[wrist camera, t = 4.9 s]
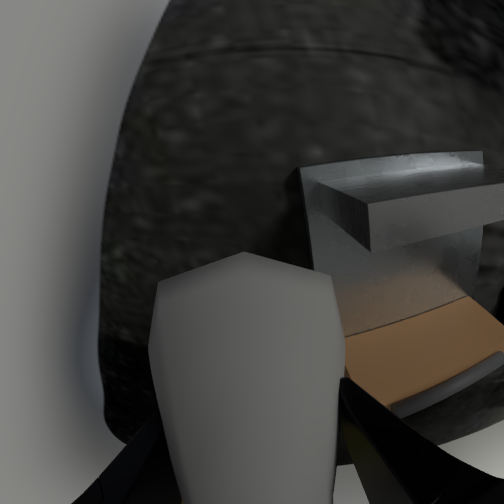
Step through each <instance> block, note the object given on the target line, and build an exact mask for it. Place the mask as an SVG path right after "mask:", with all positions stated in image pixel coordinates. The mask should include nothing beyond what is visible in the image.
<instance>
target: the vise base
mask: <svg viewBox="0 0 504 504" xmlns="http://www.w3.org/2000/svg"><path fill="white" fill-rule="evenodd" d="M296 168H297V174H298V180H299V186H300V192H301V198H302V204H303V211H304V218H305V225H306V232H307V239H308V246H309V254H310V262H311V270H313V271H316V272H320V273H324V274H327V275H331V279H332V283H333V287H334V291H335V296H336V300H337V304H338V309H339V313H340V318H341V322H342V327H343V332H344V337H345V338H347V337H350V336H354V335H357V334H361V333H364V332H368V331H371V330H375V329H378V328H381V327H384V326H388V325H391V324H394V323H397V322H400V321H403V320H406V319H409V318H412V317H415V316H418V315H420V314H423V313H426V312H429V311H431V310H434V309H437V308H439V307H442V306H445V305H447V304H450V303H452V302H455V301H457V300H460V299H462V298H465V297H467V296H469V297H471V298H472V299H473V298H474V293H475V287H476V282H477V275H478V269H479V261H480V253H481V244H482V232H483V225H486V224H489V223H493V222H497V221H500V220H504V169H501V168H496V167H492V166H487V165H483V153H482V151H478V150H457V151H435V152H419V153H406V154H395V155H384V156H374V157H365V158H357V159H349V160H341V161H334V162H326V163H320V164H313V165H306V166H300V167H296Z"/></svg>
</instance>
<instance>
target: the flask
mask: <svg viewBox="0 0 504 504" xmlns="http://www.w3.org/2000/svg"><path fill="white" fill-rule="evenodd" d="M148 351H149V359H150V367H151V372H152V377H153V382H154V387H155V392H156V396H157V401H158V405H159V410H160V414H161V418H162V422H163V427H164V432H165V437H166V441H167V445H168V450H169V454H170V458H171V462H172V466H173V470H174V473H175V477H176V480H177V484H178V487H179V491H180V494H181V497H182V501H183V504H333V492H334V484H335V476H336V467H337V458H338V448H339V436H340V422H341V405H340V396H339V383H340V378H342V377H344V371H345V337H344V332H343V327H342V322H341V318H340V313H339V309H338V304H337V300H336V296H335V291H334V287H333V283H332V279H331V275H327V274H324V273H320V272H316V271H313V270H309V269H305V268H302V267H298V266H295V265H291V264H287V263H284V262H280V261H276V260H273V259H269V258H265V257H262V256H258V255H254V254H251V253H247V252H242V253H239V254H236V255H233V256H230V257H227V258H225V259H222V260H219V261H216V262H213V263H210V264H208V265H205V266H202V267H199V268H196V269H193V270H191V271H188V272H185V273H182V274H179V275H176V276H174V277H171V278H168V279H165V280H162V281H159V282H158V287H157V293H156V298H155V304H154V311H153V317H152V324H151V331H150V338H149V346H148Z"/></svg>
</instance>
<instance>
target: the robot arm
mask: <svg viewBox="0 0 504 504" xmlns="http://www.w3.org/2000/svg"><path fill="white" fill-rule="evenodd" d="M496 319H497V320H498V321H499V322H500V323H501V324H503V325H504V290H503V294H502V298H501V303H500V306H499V310H498V314H497V318H496ZM339 396H340V405H341V422H340V424H341V428H342V432H343V436H344V439H345V443H346V445H347V448H348V451H349V453H350V456H351V458H352V461H353V463H354V466H355V468H356V470H357V473H358V476H359V478H360V480H361V483H362V485H363V488H364V491H365V493H366V495H367V498H368V501H369V503H370V504H504V479H502V478H497V477H494V476H492V475H489V474H487V473H485V472H483V471H481V470H479V469H477V468H474V467H472V466H471V465H468V464H467V463H465V462H463V461H461V460H459V459H457V458H455V457H454V456H452V455H450V454H448V453H447V452H445V451H444V450H442V449H441V448H439V447H438V446H436V445H435V444H434V443H432V442H431V441H430V440H428V439H425V437H424V436H423V435H422V434H420V433H419V432H418V431H416V430H415V429H414V428H412V427H411V426H410V425H408V424H407V423H406V422H405V421H403V420H402V419H401V418H399V417H398V416H397V415H395V414H394V413H393V412H392V411H390V410H389V409H388V408H386V407H385V406H384V405H383V404H381V403H380V402H379V401H378V400H376V399H375V398H374V397H373V396H371V395H370V394H369V393H368V392H366V391H365V390H364V389H363V388H361V387H360V386H359V385H358V384H356V383H355V382H354V381H353V380H351V379H350V378H349V377H342V378H340V383H339ZM72 504H182V497H181V494H180V491H179V487H178V484H177V480H176V477H175V473H174V470H173V466H172V462H171V458H170V454H169V450H168V445H167V441H166V437H165V432H164V427H163V422H162V418H161V414H160V410H159V407H158V409H157V410H156V411H155V412H154V413H153V415H152V416H151V417H150V418H149V419H148V420H147V422H146V423H145V424H144V425H143V426H142V427H141V429H140V430H139V431H138V432H137V433H136V434H135V436H134V437H133V438H132V439H131V440H130V441H129V443H128V444H127V445H126V446H125V447H124V448H123V450H122V451H121V452H120V453H119V454H118V455H117V456H116V458H115V459H114V460H113V461H112V462H111V463H110V464H109V466H108V467H107V468H106V469H105V470H104V471H103V472H102V473H101V475H100V476H99V478H97V479H96V480H95V481H94V482H93V483H92V485H90V486H89V487H88V489H87V490H86V491H85V492H84V493H83V494H82V495H81V496H79V497H78V498H77V499H76V500H75V501H74V502H73V503H72Z"/></svg>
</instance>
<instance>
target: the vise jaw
mask: <svg viewBox="0 0 504 504" xmlns="http://www.w3.org/2000/svg"><path fill="white" fill-rule="evenodd" d="M503 364H504V325H503V324H501V323H500V322H499V321H498V320H497V319H496V318H495V317H493V316H492V315H491V314H490V313H489V312H488V311H486V310H485V309H484V308H483V307H482V306H480V305H479V304H478V303H477V302H475V301H474V300H473V299H472V298H471V297H469V296H467V297H465V298H462V299H460V300H457V301H455V302H452V303H450V304H447V305H445V306H442V307H439V308H437V309H434V310H431V311H429V312H426V313H423V314H420V315H418V316H415V317H412V318H409V319H406V320H403V321H400V322H397V323H394V324H391V325H388V326H384V327H381V328H378V329H375V330H371V331H368V332H364V333H361V334H357V335H354V336H350V337H347V338H345V371H344V377H349V378H350V379H351V380H353V381H354V382H355V383H356V384H358V385H359V386H360V387H361V388H363V389H364V390H365V391H366V392H368V393H369V394H370V395H371V396H373V397H374V398H375V399H376V400H378V401H379V402H380V403H381V404H383V405H384V406H385V407H386V408H388V409H389V410H390V411H392V412H393V413H394V414H395V415H397V416H398V417H399V418H404V417H406V416H408V415H411V414H413V413H416V412H418V411H420V410H422V409H425V408H427V407H429V406H431V405H433V404H435V403H437V402H439V401H441V400H443V399H445V398H447V397H449V396H451V395H453V394H455V393H457V392H459V391H460V390H462V389H464V388H466V387H468V386H469V385H471V384H473V383H474V382H476V381H478V380H480V379H481V378H483V377H484V376H486V375H488V374H489V373H491V372H492V371H494V370H495V369H497V368H498V367H500V366H501V365H503Z"/></svg>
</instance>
